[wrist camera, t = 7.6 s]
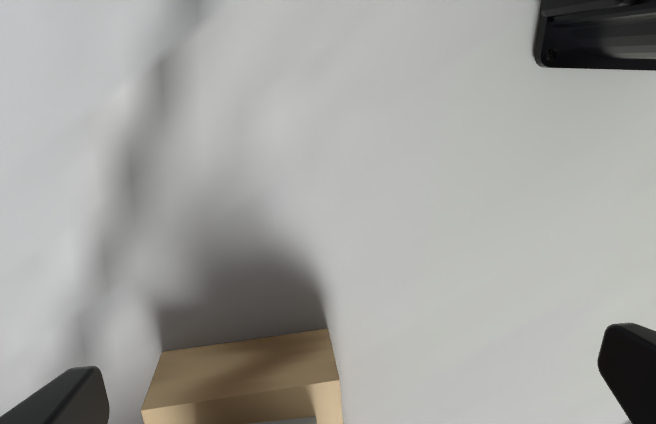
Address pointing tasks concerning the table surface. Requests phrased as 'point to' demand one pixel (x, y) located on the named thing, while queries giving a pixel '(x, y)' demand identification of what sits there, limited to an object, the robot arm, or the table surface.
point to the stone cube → (293, 421)
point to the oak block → (247, 382)
